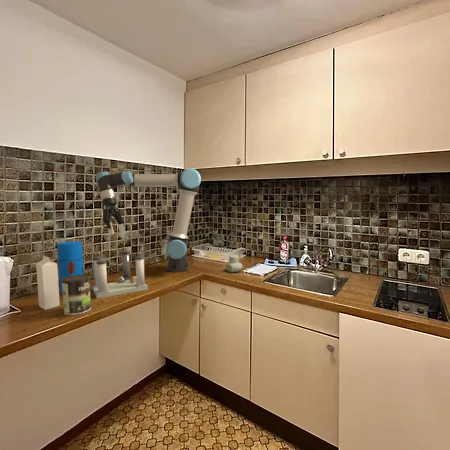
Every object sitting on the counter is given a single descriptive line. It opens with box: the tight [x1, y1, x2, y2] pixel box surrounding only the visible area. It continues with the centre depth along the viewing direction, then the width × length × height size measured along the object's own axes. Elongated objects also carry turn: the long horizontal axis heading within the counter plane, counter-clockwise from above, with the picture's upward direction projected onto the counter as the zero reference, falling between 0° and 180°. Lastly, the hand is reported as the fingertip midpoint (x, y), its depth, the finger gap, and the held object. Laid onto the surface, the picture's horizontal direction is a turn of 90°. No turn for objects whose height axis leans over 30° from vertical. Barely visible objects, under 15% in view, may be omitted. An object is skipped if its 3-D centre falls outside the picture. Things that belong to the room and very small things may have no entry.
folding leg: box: [117, 250, 132, 283], centre depth 155 cm, size 11×4×15 cm, turn 177°
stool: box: [91, 255, 149, 299], centre depth 146 cm, size 24×16×17 cm
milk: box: [35, 255, 61, 311], centre depth 123 cm, size 6×6×22 cm
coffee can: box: [62, 274, 92, 316], centre depth 119 cm, size 10×10×14 cm
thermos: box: [56, 240, 85, 296], centre depth 142 cm, size 11×11×25 cm
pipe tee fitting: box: [225, 254, 243, 273], centre depth 181 cm, size 11×8×10 cm
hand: (117, 234), depth 161 cm, fingers open, 13 cm apart
